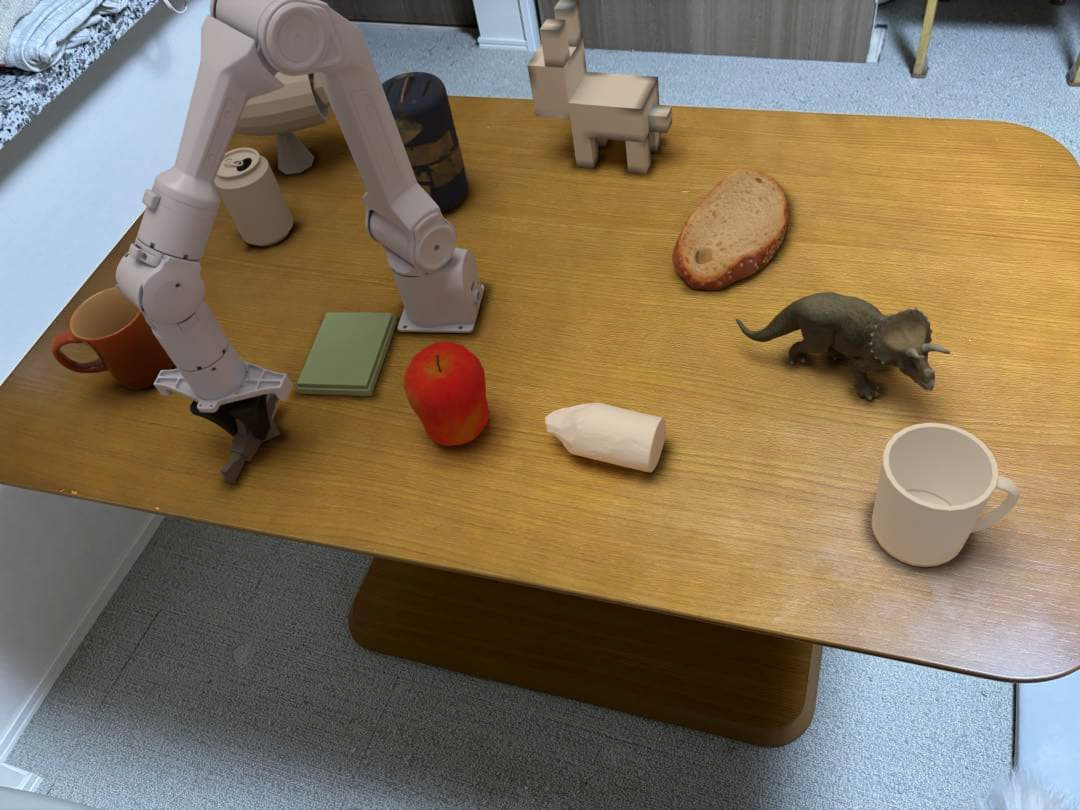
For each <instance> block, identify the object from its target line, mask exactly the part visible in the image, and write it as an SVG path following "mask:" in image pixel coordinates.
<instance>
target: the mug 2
mask: <svg viewBox="0 0 1080 810" xmlns="http://www.w3.org/2000/svg"><path fill="white" fill-rule="evenodd" d="M881 458H882V459H881V464H880V468H879V469H880V471H879V476H878V481H877V487H876V493H875V498H874V504H873V510H872V515H871V529H872V534H873V537H874V538H875V540H876V541H877V543H878V544H879V546H880V548H882V549H883V550H884V551H885V552H886V553H887V554H888V555H889V556H890V557H892V558H894V559H896V560H898V561H899V562H901V563H904V564H907V565H909V566H912V567H919V568H929V567H938V566H941V565H944V564H946V563H949V562H950V561H952V560H953V559H955V558H956V557H957V556H958V555H959V553H960V552H961V550H963V549H964V548H963V547H964V546H965V544H966V542H967V540H968V539H969V537H970V535H971V533H976V532H977V533H978V532H981V531H984V530H985V529H987V528H990V527H992V526H993V525H994V524H996V523H997V522H999V521H1000V520H1002V519H1003V518H1004V517H1006V516H1007V515H1008V514H1009V512H1010V511H1012V509H1014V507H1015V506H1016V504H1017V503H1018V501H1019V500H1020V490H1019V485H1018V484H1017V483H1015V482H1014V481H1013V480H1012V479H1010V478H1008V477H1005V476H1002V475H999V471H998V469H999V467H998V463H997V461H996V460H995V456H994V455H993V453H992V451H991V449H989V448H988V447H987V445H986V444H985V443H984V442H983V441H981V440H980V439H979V438H978V437H976V436H975V435H974V434H972V433H971V432H969V431H966V430H964V429H963V428H961V427H957V426H955V425H951V424H947V423H939V422H923V423H916V424H913V425H910V426H907V427H904V428H902V429H900V431H898V432H896V433H895V434H894V435H892V437H891V438H890V439H889V441H888V442H887V443H886V446H885V449H884V451H883V454H882V457H881ZM995 489H996V490H1000V491H1003V492H1005V493H1006V494H1007V496H1006V498H1005V499H1004V500H1003V501H1002V502H1001V503H1000V504H999V505H998V506H997V507H996V508H995V509H993V510H992V511H991V512H990V513H987V514H986V515H984V516H982V517H981V515H982V513H983V512H984V510H985V507H986V506H987V505H988V502H989V501H990V499H991V497H992V495H993V493H994V491H995Z"/></svg>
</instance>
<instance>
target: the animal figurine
mask: <svg viewBox="0 0 1080 810" xmlns="http://www.w3.org/2000/svg"><path fill="white" fill-rule="evenodd" d="M280 401H281V399H278V398H277V396H276V394H267V399H266V403H267V413H268V418H269V422H270V426H271V427H270V430H269V432H268V434H267V437H266V439H265V440H258V439H257V438H256V437H255V436H254V435H253V434H252V432H251V431H250V429H249V428H248V427H247V426H246V425H245V424H244V423H243V422H242V421H241V420H239V419H238V418H236V423H237V427H238V430H237V433H236V435H235V436H234V437H233V438H232V440H231V442H232V445H231V447H230V449H229V451H230V452H231V453H232V454H231V455H230V458H229V460H228V461H227V462H226V464H225V465H224V466H223V467H222V468H221V469H220V473H221V474H222V475H223V477H224V478H225V480H226V481H227V482H228V483H229V484H233V485H234V484H235V483H236V481H237V479H238V477H239V475H240V474H241V472H242V469H243V468H244V463H245V462H246V461H248V462H250V461H251V459H252V458H253V456H254V454H257V452H258V450H259V447H260V446H261V444H262V443H264V442H266V441H269V440H272V439H274V438H276V437H279V436H280V432H279V429H278V428H277V425H276V424H275V422H274V419H275V416H276V413H277V411H278V408H279V407H278V405H279V403H280Z"/></svg>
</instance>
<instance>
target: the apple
mask: <svg viewBox="0 0 1080 810" xmlns="http://www.w3.org/2000/svg"><path fill="white" fill-rule="evenodd" d="M485 373H486V372H485V369H484V367H483V365H482V362H481V361H480V358H479V357H478V356H477V355H475V354H474V353H473V352H472V351H470V350H469V349H468V348H467V347H466V346H465V345H464V344H461V343H457V342H454V341H451V340H450V341H436V342H433V343H432V344H430V345H427V346H425V347H423V348H422V349H421V350H419V352H417V353H416V354H415V355H414V356H413V357H412V359H411V360H410V362H409V364H408V365H407V367H406V369H405V373H404V377H403V390H404V393H405V397H406V399H407V401H408V403H409V405H410V407H411V409H412V410H413V413H415V415H416V416H417V417H418V418H419V419H418V420H420V421H421V423H422V426H423V428H424V431H425V432H426V435H427V436H428V437H429V438H430V439H431V440H432V441H433V442H435V443H436V444H439V445H443V446H445V447H451V446H458V445H464V444H468V443H471V442H472V441H474V440H475V439H476V438H477V437H478V436H479V435H480V434H481V433H483V431H484V429H485V428H486V426H487V425H488V423H489V417H490V408H489V403H488V400H487V387H486V386H487V385H486V384H487V383H486V374H485Z"/></svg>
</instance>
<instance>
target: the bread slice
mask: <svg viewBox="0 0 1080 810" xmlns="http://www.w3.org/2000/svg"><path fill="white" fill-rule="evenodd" d="M785 194H786V193H785V192H784V191H783V188H782V187H781V185H780V183H779V182H778V181H776V179H774V178H773V177H772V176H771V175H769V174H767V173H765V172H763V171H761V170H757V169H754V168H750V167H741V168H735V169H734V171H732V172H730V173H729V174H728V175H727V176H724V177H723V178H722V180H720V182H719V183H718V184H716V185H715V187H713V189H712V190H711V191H709V193H708V194H707V196H705V197H704V198H703V200H702V201H701V202H700V203H699V204H698V206H697V207H696V208H695V209H694V211H693V212H692V213H691V214H690V216H689V217H688V219H687V220H686V222H685V224H684V225H683V228H682V229H681V231H680V233H679V236H678V238H677V239H676V242H675V245H674V247H673V251H672V258H671V260H672V264H673V266H674V268H675V270H676V273H678V275H679V276H680V278H682V279H683V280H684V281H685V283H686V284H687V285H688V286H689V287H690V288H691V289H693V290H704V291H720V290H723V289H725V288H726V287H727V286H729V285H731V284H733V283H734V282H736V281H737V282H738V281H739V280H741V279H745V278H748V277H750V276H752V275H754V274H755V273H758V271H760V270H762V269H763V268H764V267H765V266H766V265H767V264H768V263H769V262H770V260H771V259H772V258H773V257H774V256H775V254H776V253H777V251H778V250H779V248H780V247H781V246H782V244H783V243H784V238H785V235H786V232H787V228H788V223H789V211H788V209H789V208H788V201H787V198H786V195H785Z"/></svg>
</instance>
